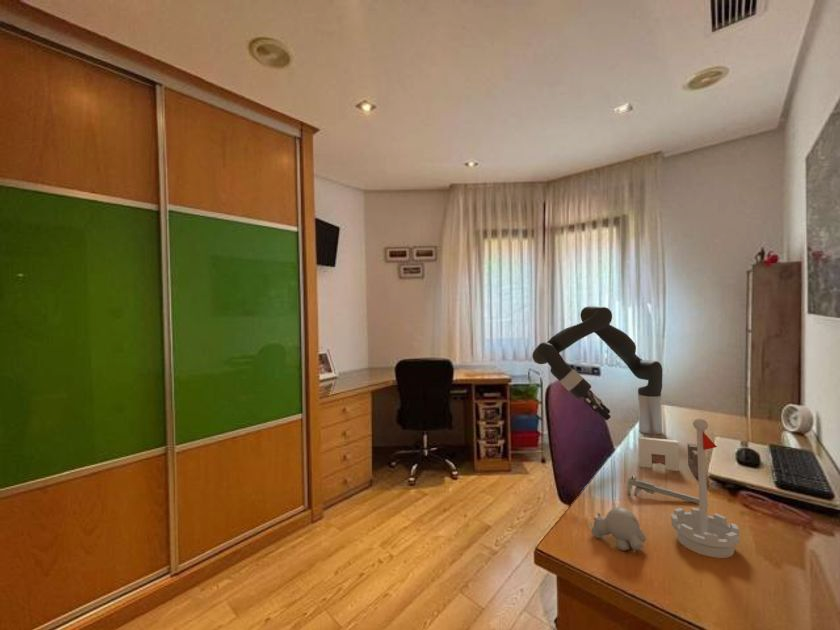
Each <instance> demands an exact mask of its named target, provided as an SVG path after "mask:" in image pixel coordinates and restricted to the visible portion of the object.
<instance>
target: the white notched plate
mask: <svg viewBox="0 0 840 630" xmlns="http://www.w3.org/2000/svg"><path fill="white" fill-rule="evenodd" d="M637 441H638V444H637V445H638V465H639V467H643V468H644V467H645V468H650V469H653V468H652V467H653V463H652V456H651V454H658V455H665V465H664V466H665V467H664V468H665V470H668V471H675V472H680V454H679V453H680V452H679V441H678V440H676V439H675V440H674V439H668V438H667V439H664V438H656V437H655V438H653V437H647V436H646V437H644V436H643V437H642V436H638V437H637Z"/></svg>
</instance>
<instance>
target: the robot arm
mask: <svg viewBox="0 0 840 630" xmlns="http://www.w3.org/2000/svg"><path fill="white" fill-rule="evenodd" d="M612 319H613V313H612V311H611V309H609V308H608V307H606V306H599V305H588V306H585V307H583V309H582V310H581V311H580V320H581V322H580V323H576V324H575V325H572V326H571V325H570V326H568V327H566V328H564V329H562V330H560V331H559V332H557V333H555V334H554V335H553V336H552V337H550V339H549V340H548V341H547V342H545V341H544V342H541V343H539V344H538V345H537V347H536V348H535V349H534V350H533V352H532V359H533V360H532V361H534V362H535V363H537V364H538V365H546V364H548V365H549V366H550V374H551V375H553V376H554V378H556V380H558V381H559V382H560V383H561V385H562V386H563V387H564V388H565V389H566V390H567V391H568V392H569V393H570V394H571V395H572V396H573V397H574V398H575V399H576V400H579V399H581V398H582V397H583V399H584V400H583V401H584V402H585V403H586V404H587V405H588V406H589V407H590V409H591V410H593V412H594V413H596V414H599V416H601V417H602V418H603V419H604V420H605V421H608V420H609V419H611V415H610V413H611V410H610V409H609V408H608V407H607V406H606V405H605V404H604V403H603V401H602V399H601V398H600V397H598V396H597V395H596V394H595V393H594V392H593V391H592V390H591V389H592V385H591V384H590V383H589V382H588V381H587V380H586V379H585V378H584V377H583V376H582V375H581V374H580V373H578V371H576V370H574V369H573V368H572V367H571V366H570V364H569V363H567V362H566V361H565V360H564V359H563V357H562V355H561V354H560V353H561V352H563V351H565V350H566V349H568V348H570V347H571V346H572V345H573V344H575V343H576V342H579V341H580V340H582V339H583V338H586V337H588V336H589V335H592V334H595V335H596V336H598V337H599V339H601V340H602V342H604V343H605V345H607V346H608V347H609V348H610V350H611V351H613V353H614V354H616V356H617V357H619V358H620V360H621V361H622V362H624V364H625V365H626V366H627V367H628V369H629V370H630V372H632V374H633V375H634V376H635V377H636V378H637V379H638V380H644V381H647V385H645V386H640V387H638V390H637V398H638V399H637V402H638V430H639V432H641V433H643V434H648V435H662V434H663V414H662V413H663V412H662V411H663V410H662V391H663V376H664V375H663V372H664V371H663V367H662V364H661V363H660V362H659V361H656V360H647V359H642V358H640V357H639V356H638V355H637V354H636V351H637V346H636V343H635V342H634V341H633V339H632V338H631V337H630V336H629V335H628V334H627V333H626V332H625V331H622V330H621V329H619V328H617V327H615V326H613V325H611V322H612Z"/></svg>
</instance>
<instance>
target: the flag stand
mask: <svg viewBox="0 0 840 630" xmlns="http://www.w3.org/2000/svg"><path fill="white" fill-rule="evenodd" d="M692 426H693V427H694V429H696V442H697V444H696V445H697V452H698V498H699V504H698V505H699V508H696V507H690V511H685V509H683V508H681V507H679V508H678V507H677V508H675V509H673V513H670V514H671V516H670V517H671V519H670V520H671V522H670V523H671V526H672V528H673V529H674V530H675V532H676V538H677V540H678V543H680V544H681V545H682V546H683V547H685V548H687V549H689V550H691V551H692V552H695V553H696V554H700V555H703V556H707V557H709V558H710V557H712V558H720V559H721V558H722V559H723V558H725V559H726V558H730V557H732V556H733V555H734V554H735V546H737V545H738V544H739V543H740V528H739V527H738V524H736V523H731V522H730V523H728V520H727V519H728V517H725V516H724V515H721V514H719V513H716V512H715V513H713V516H711V515H708V505H707V504H708V491H707V488H708V487H707V464H706V463H707V462H706V450H711V449H714V448H717V447H718V446H717V445H716V444H715V442H713V441H712V440H711V439H710V438H709V437H708V435H707V434H706V433H705V432H706V430H707V429H708V428H709V423H708V422H707V420H705V419H704V418H701V417H700V418H699V417H698V418H695V419H693V422H692Z"/></svg>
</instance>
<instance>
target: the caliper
mask: <svg viewBox="0 0 840 630" xmlns="http://www.w3.org/2000/svg"><path fill="white" fill-rule="evenodd" d="M626 485H627V494H628V495H629V496H630V495H631V493H632V488H633V487H635V489H634V493H633V496H635V497H637V496H638V494H640V492H641V490H643V491H644V492H646V493H648V494H649V493H650V494H654V493H657V494H660V495H661V494H662V495H666V496H668V497H672V498H676V499H679V500H682V501H685V502H689V503H693V504H698V505H699V497H696V496H693V495H689V494H686V493H682V492H678V491H675V490H671V489H667V488H664V487H660V486H656V485H655V484H654V483H650V482H649V481H648V482H647V481H644V480H640V479H638V475H636V476H635V477H634V475H633V474H631V477H629V478H628V480H627V483H626ZM708 505H709V503H707V506H708Z"/></svg>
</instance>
